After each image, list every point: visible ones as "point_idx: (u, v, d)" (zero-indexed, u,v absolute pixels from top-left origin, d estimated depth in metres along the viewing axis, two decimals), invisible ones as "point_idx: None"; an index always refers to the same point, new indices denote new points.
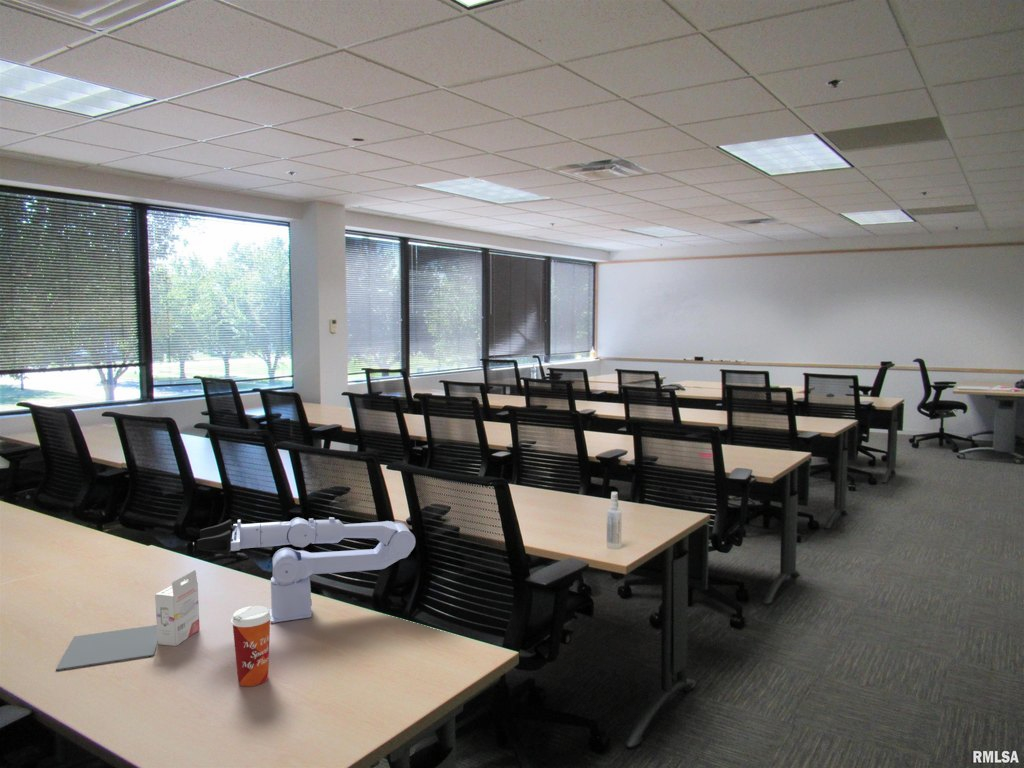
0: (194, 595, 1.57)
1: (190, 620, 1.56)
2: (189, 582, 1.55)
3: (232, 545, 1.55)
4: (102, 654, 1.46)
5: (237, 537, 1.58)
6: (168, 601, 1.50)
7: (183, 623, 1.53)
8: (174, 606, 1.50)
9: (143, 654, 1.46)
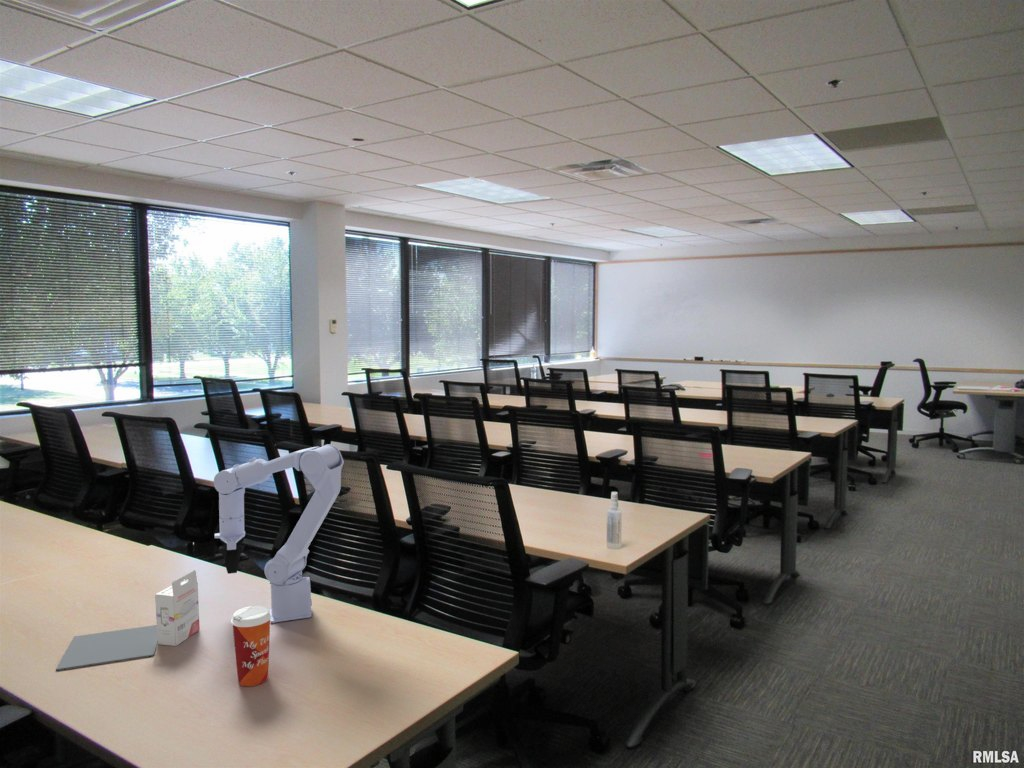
0: (194, 595, 1.57)
1: (190, 620, 1.56)
2: (189, 582, 1.55)
3: (230, 548, 1.63)
4: (102, 654, 1.46)
5: (225, 541, 1.64)
6: (168, 601, 1.50)
7: (183, 623, 1.53)
8: (174, 606, 1.50)
9: (143, 654, 1.46)
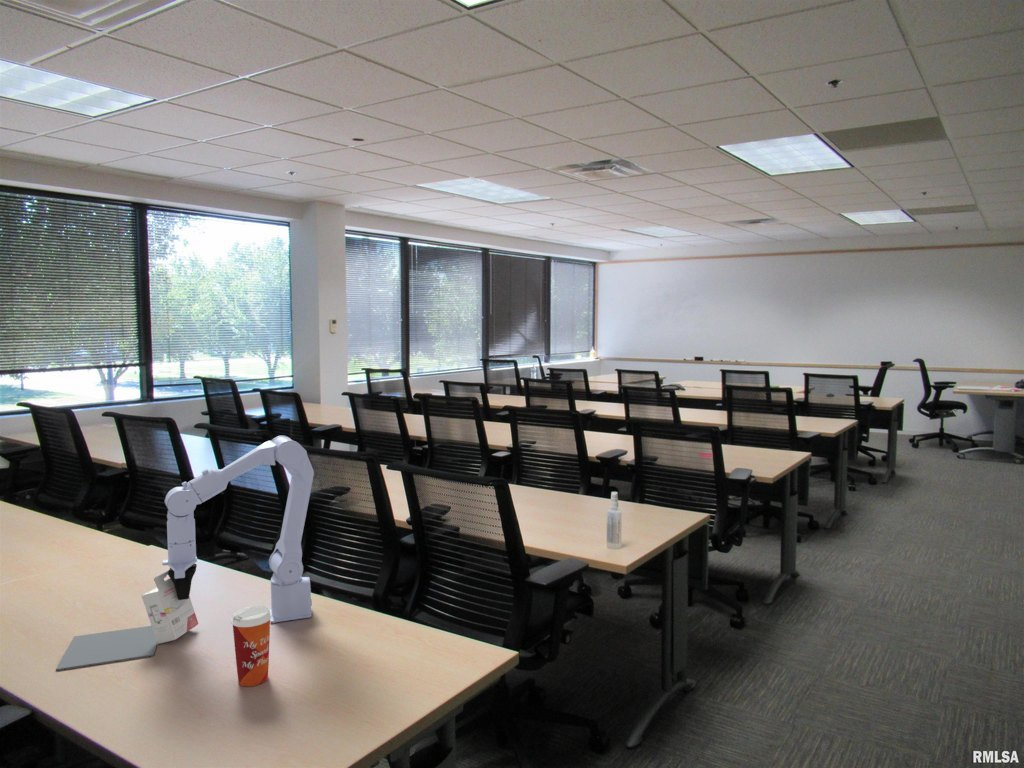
0: None
1: (185, 614, 1.56)
2: None
3: (178, 576, 1.48)
4: (102, 654, 1.46)
5: (173, 569, 1.49)
6: (155, 597, 1.51)
7: (177, 618, 1.53)
8: (162, 601, 1.51)
9: (143, 654, 1.46)
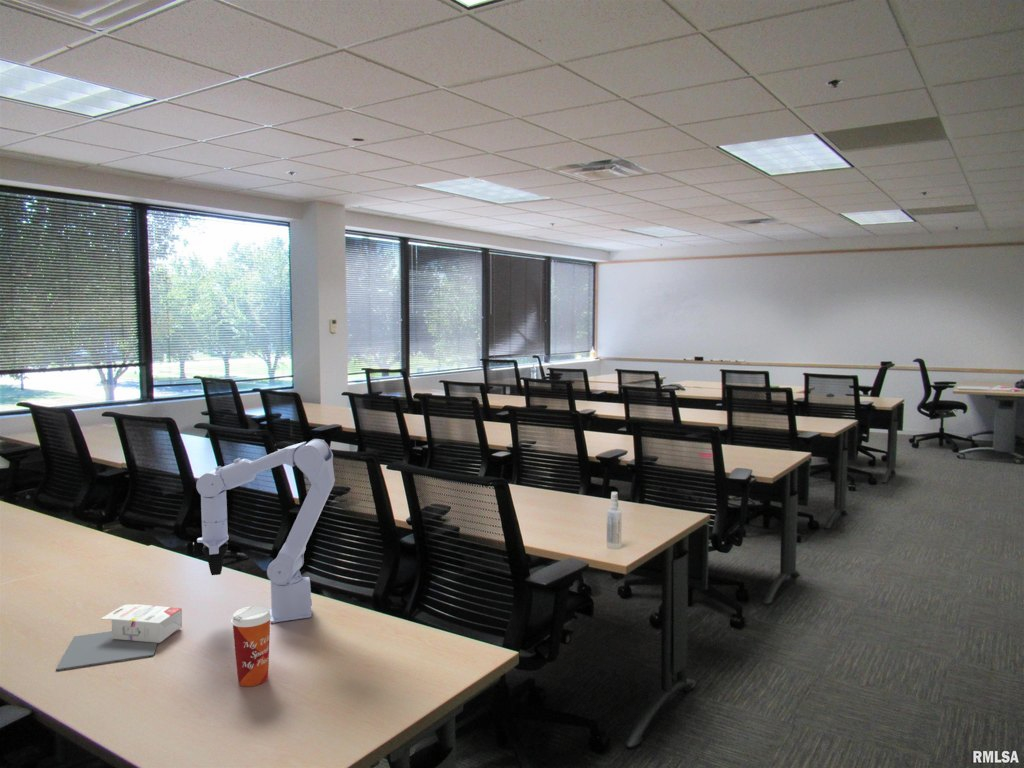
0: (142, 607, 1.59)
1: (158, 612, 1.57)
2: (124, 608, 1.58)
3: (212, 552, 1.59)
4: (102, 654, 1.46)
5: (207, 546, 1.61)
6: (116, 624, 1.53)
7: (150, 616, 1.54)
8: (121, 619, 1.52)
9: (143, 654, 1.46)
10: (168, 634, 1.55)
